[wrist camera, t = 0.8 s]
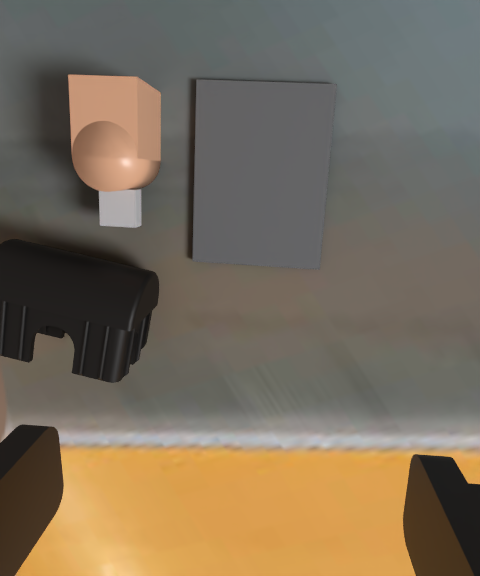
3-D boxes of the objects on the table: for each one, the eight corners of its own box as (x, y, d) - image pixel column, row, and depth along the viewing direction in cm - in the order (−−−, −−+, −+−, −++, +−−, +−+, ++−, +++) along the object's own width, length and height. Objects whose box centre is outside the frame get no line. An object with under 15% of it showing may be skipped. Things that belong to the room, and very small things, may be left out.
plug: (102, 90, 30) (68, 74, 25) (160, 92, 30) (137, 76, 25) (106, 220, 32) (75, 228, 27) (160, 223, 32) (138, 232, 27)
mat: (197, 80, 29) (196, 79, 29) (336, 85, 29) (336, 83, 28) (193, 260, 32) (192, 261, 32) (318, 268, 32) (319, 269, 31)
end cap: (167, 262, 33) (138, 284, 26) (151, 350, 35) (121, 390, 28) (37, 231, 33) (-24, 245, 26) (28, 320, 35) (-31, 353, 28)
